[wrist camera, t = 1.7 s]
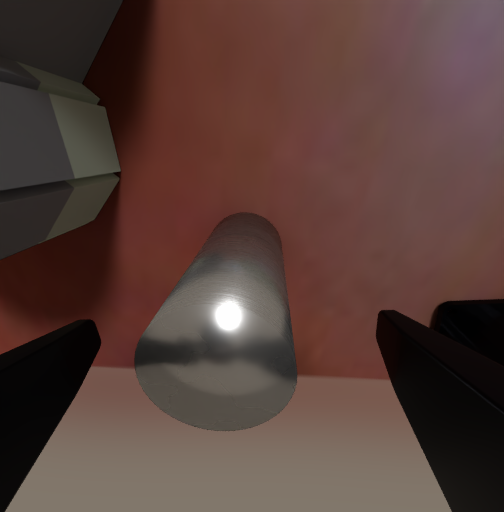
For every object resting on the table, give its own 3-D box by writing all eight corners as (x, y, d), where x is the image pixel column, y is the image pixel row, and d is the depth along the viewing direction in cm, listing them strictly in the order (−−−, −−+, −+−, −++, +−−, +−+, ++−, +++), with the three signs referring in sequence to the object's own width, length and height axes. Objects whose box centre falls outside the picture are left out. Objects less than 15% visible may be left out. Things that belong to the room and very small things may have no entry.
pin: (280, 209, 14) (295, 301, 6) (283, 278, 16) (298, 431, 7) (205, 215, 14) (115, 308, 6) (214, 281, 16) (153, 430, 8)
